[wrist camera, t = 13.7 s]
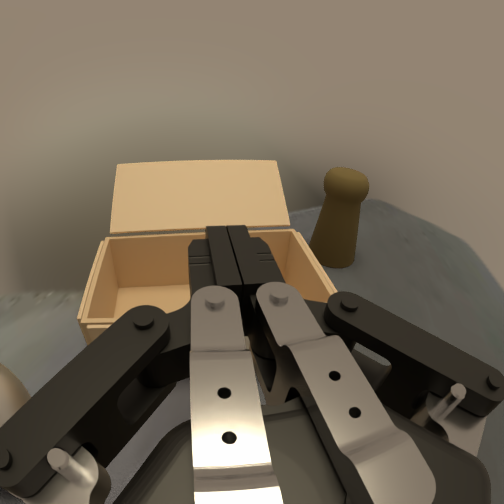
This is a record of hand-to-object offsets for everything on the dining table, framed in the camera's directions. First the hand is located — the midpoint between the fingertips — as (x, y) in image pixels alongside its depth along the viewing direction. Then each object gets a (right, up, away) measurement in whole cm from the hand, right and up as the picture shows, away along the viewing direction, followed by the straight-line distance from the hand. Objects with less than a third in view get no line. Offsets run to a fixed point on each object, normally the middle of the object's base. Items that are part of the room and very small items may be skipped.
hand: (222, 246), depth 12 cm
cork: (+11, -1, +27) cm, 29 cm away
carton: (-3, -6, +15) cm, 17 cm away
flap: (-3, +2, +17) cm, 17 cm away
